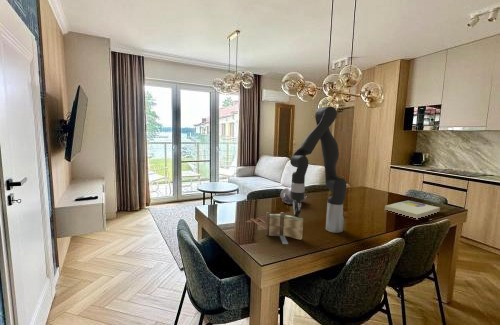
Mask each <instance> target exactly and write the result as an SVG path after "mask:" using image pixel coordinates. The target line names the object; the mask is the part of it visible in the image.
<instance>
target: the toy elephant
mask: <svg viewBox="0 0 500 325" xmlns="http://www.w3.org/2000/svg"><path fill="white" fill-rule="evenodd" d="M279 196H280V198H281V199H282V202H284V203H285V204H287V205H293V201H294V200H293V199H291V186H290V187H289V186H287V187H285V188H283V189H282V190H281V191H280V194H279ZM307 197H308V196H307V195H306V196H305V195H304V199H303V200H301V201H300V203H302V202H304V201H306V199H307Z"/></svg>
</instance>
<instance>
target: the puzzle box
mask: <svg viewBox="0 0 500 325" xmlns="http://www.w3.org/2000/svg"><path fill="white" fill-rule="evenodd" d="M385 210H388V211H392V212H395V213H398V214H397V215H399V214H402V215H401V216H403V215H405V216H404V217H406V216H409V217H408V218H410V217H413V218H416V219H415V220H419V219H418V218H421V217H424V218H426V217H425V216H427V217H429V216H428V215H430V216H432V215H431V214H433V215H435V214H434V213H436V214H438V213H437V212H439V213H440V211H441V207H439V206H434V205H430V204H426V203H421V202H417V201H413V200H404V201H400V202H394V203H391V204H387V205H384V211H385ZM388 211H387V212H388ZM392 212H391V213H392ZM395 213H394V214H395ZM413 218H412V219H413ZM421 219H422V218H421Z"/></svg>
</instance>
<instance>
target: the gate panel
mask: <svg viewBox="0 0 500 325" xmlns="http://www.w3.org/2000/svg"><path fill="white" fill-rule="evenodd" d="M303 226H304V218H303V217H294V215H288V214H284V228H283V235H284V236H285V237H288V238H291V239H295V240H302V239H303V229H304V228H303Z"/></svg>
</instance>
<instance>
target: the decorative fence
mask: <svg viewBox="0 0 500 325" xmlns="http://www.w3.org/2000/svg"><path fill="white" fill-rule="evenodd" d="M261 222H262V223H261ZM245 223H255V224H256V225H257V226H259V227H260V228H262V229H263V230H265V231H266V217H261V216H258V217H257V218H254V217H253V218H249V220H245ZM263 223H264V224H265V225H264V224H263Z"/></svg>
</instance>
